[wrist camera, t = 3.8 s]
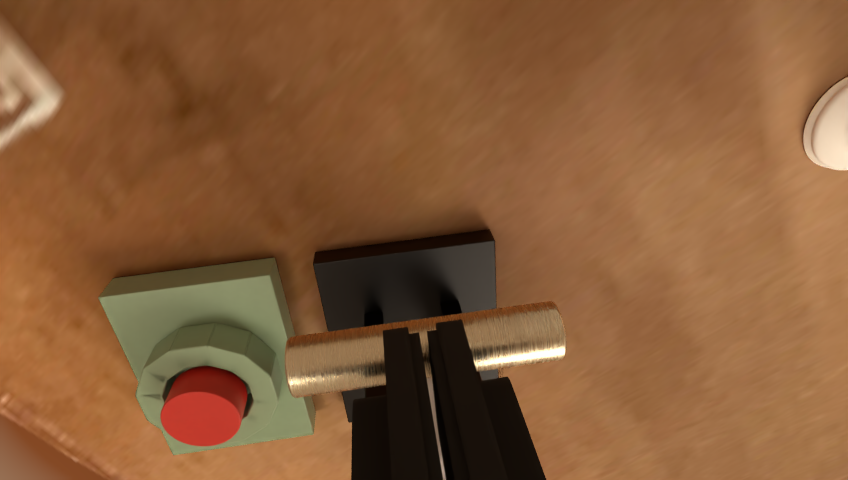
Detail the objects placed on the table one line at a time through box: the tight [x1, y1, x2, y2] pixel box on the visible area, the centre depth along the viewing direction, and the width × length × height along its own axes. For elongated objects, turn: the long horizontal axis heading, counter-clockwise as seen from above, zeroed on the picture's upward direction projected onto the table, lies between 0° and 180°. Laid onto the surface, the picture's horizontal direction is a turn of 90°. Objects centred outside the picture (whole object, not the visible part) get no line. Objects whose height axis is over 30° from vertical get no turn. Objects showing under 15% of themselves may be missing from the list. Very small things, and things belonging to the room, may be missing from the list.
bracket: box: [313, 230, 498, 422], centre depth 24 cm, size 11×9×13 cm
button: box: [160, 366, 248, 446], centre depth 25 cm, size 4×4×2 cm
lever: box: [285, 301, 566, 480], centre depth 16 cm, size 13×6×2 cm, turn 5°
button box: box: [98, 258, 316, 455], centre depth 27 cm, size 11×8×4 cm
